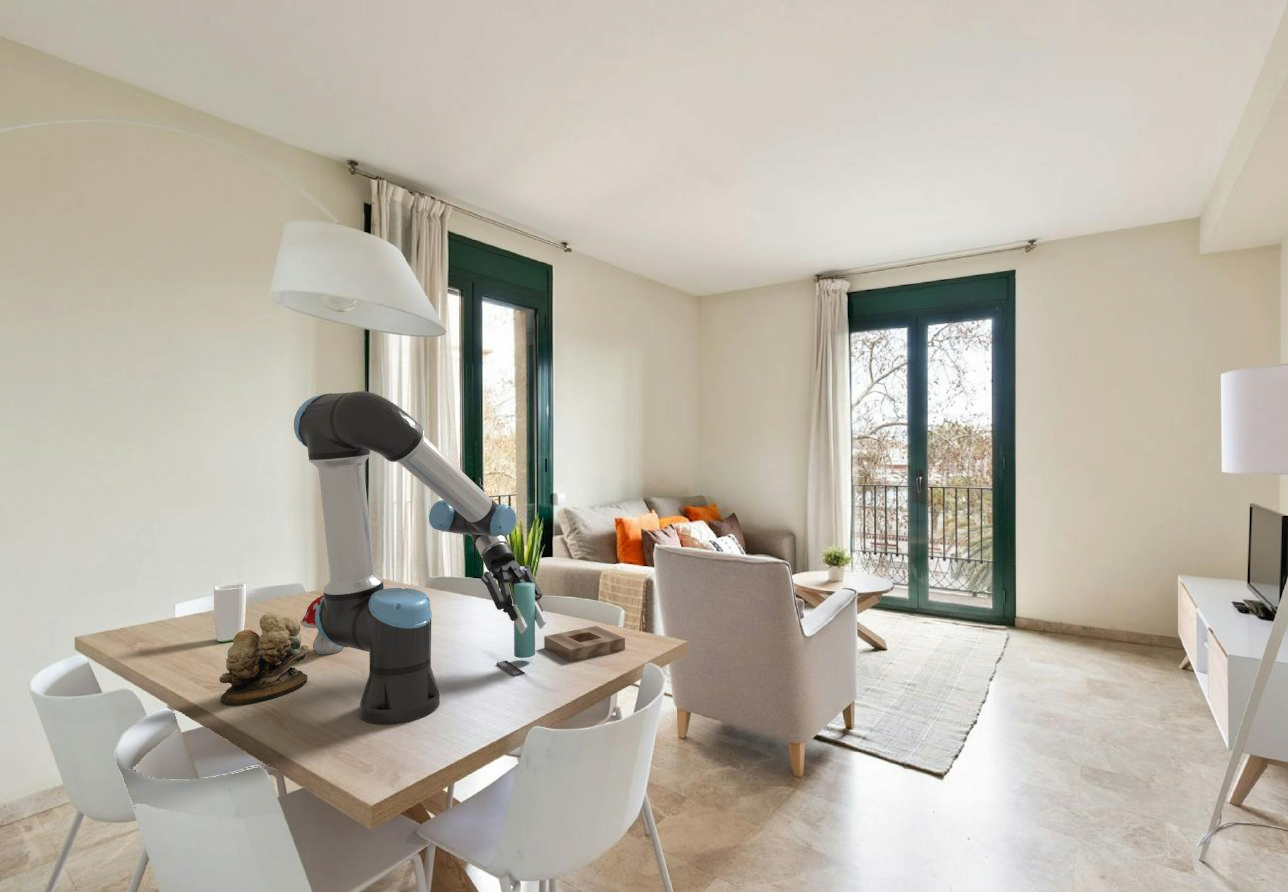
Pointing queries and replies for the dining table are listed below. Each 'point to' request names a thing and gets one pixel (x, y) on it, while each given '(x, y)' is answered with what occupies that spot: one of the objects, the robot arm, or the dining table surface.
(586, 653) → the walnut holder
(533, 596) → the teal peg
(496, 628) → the dining table surface
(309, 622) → the decorative mushroom
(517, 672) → the charcoal mat
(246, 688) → the brown lumpy sculpture
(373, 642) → the robot arm
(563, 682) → the dining table surface
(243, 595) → the cup
